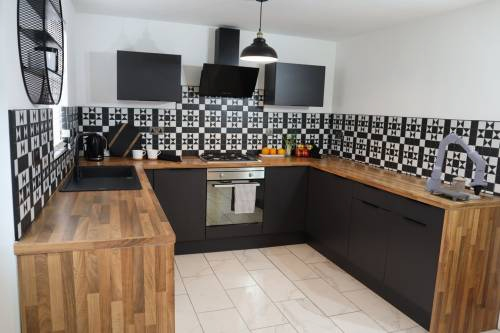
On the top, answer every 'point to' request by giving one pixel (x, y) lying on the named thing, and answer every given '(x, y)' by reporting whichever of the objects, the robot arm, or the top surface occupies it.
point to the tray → (471, 196)
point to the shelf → (450, 193)
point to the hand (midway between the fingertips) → (476, 195)
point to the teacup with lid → (458, 184)
